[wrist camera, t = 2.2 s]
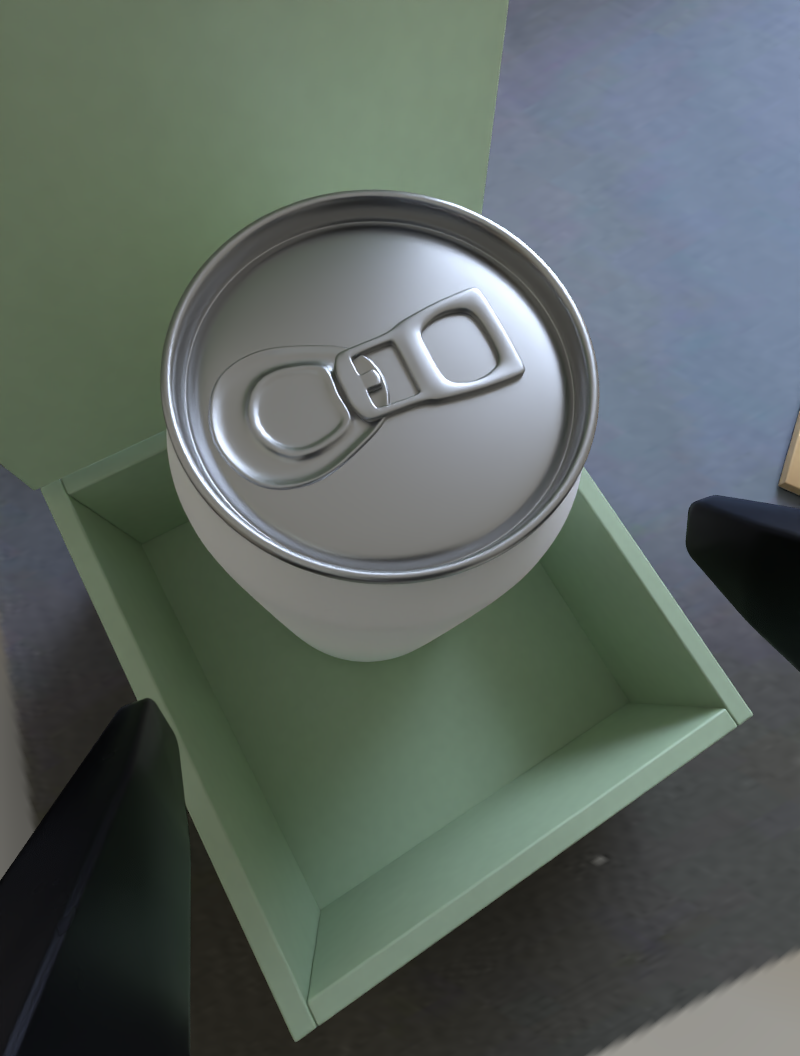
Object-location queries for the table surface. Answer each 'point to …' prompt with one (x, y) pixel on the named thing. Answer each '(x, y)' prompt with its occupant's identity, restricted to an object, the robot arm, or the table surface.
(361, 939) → the chest
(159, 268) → the chest lid
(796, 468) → the tan flat long board
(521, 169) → the table surface
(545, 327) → the can
